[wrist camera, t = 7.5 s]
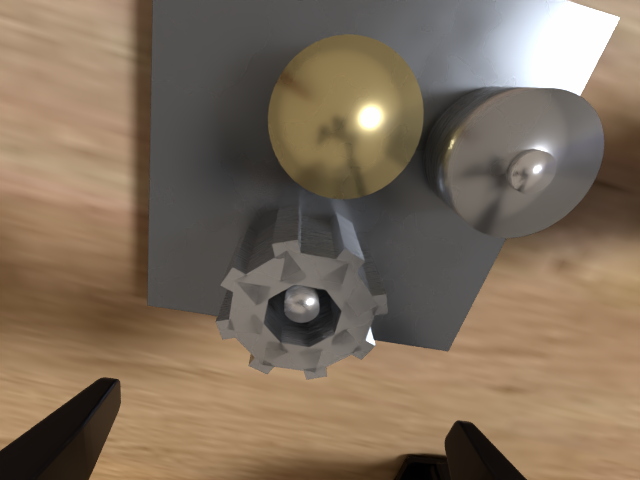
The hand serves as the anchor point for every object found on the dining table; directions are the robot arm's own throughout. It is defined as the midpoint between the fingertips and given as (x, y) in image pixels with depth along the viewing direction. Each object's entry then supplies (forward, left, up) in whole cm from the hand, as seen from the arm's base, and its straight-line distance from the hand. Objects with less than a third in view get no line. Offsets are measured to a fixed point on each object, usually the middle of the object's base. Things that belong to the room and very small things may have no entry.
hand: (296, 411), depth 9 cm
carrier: (+4, -1, -9) cm, 10 cm away
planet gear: (0, 0, -8) cm, 8 cm away
